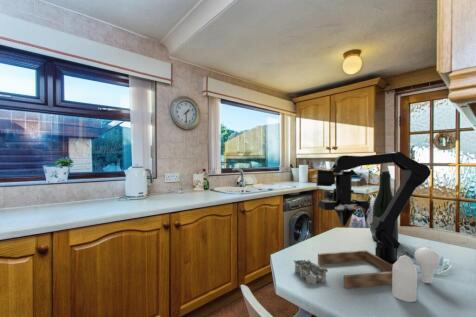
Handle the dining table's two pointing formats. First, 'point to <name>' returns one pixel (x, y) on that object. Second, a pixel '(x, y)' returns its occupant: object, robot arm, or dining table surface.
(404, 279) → the roll
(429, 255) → the lightbulb
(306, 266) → the egg carton
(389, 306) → the dining table surface
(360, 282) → the open wooden frame
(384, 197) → the beer bottle
